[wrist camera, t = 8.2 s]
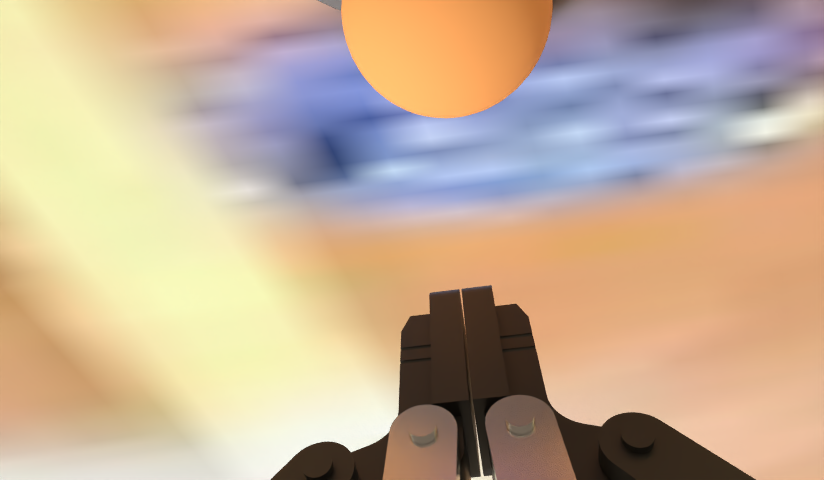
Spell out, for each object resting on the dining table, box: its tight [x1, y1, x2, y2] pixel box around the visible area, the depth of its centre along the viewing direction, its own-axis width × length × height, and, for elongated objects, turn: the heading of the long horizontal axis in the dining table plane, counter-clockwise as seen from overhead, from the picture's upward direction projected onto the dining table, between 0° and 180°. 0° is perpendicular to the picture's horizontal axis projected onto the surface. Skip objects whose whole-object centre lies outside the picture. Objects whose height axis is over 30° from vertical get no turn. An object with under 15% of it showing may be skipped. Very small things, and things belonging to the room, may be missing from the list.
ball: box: [341, 0, 553, 118], centre depth 17 cm, size 6×6×6 cm
